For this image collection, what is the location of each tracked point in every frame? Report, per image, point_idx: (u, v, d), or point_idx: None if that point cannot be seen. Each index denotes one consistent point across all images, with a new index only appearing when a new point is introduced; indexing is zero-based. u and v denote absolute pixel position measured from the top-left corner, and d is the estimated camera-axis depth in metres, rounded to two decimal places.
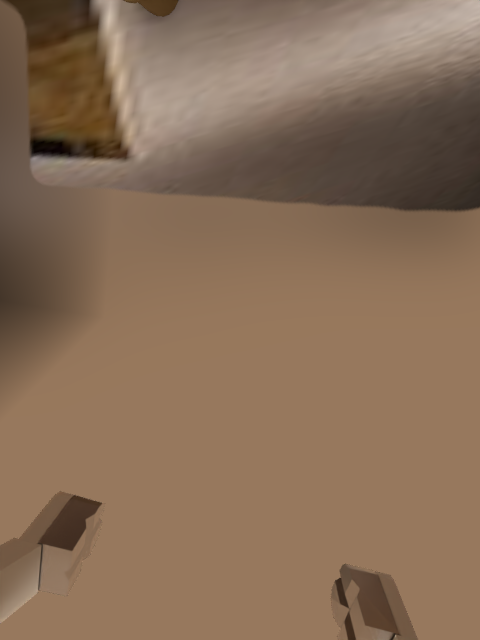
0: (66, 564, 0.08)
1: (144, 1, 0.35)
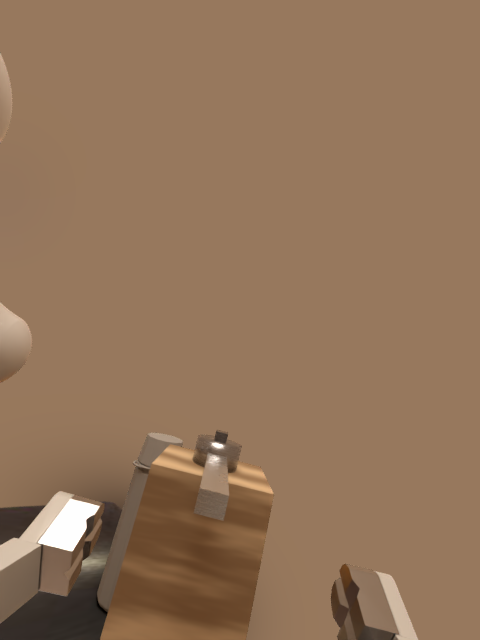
0: (66, 564, 0.08)
1: None
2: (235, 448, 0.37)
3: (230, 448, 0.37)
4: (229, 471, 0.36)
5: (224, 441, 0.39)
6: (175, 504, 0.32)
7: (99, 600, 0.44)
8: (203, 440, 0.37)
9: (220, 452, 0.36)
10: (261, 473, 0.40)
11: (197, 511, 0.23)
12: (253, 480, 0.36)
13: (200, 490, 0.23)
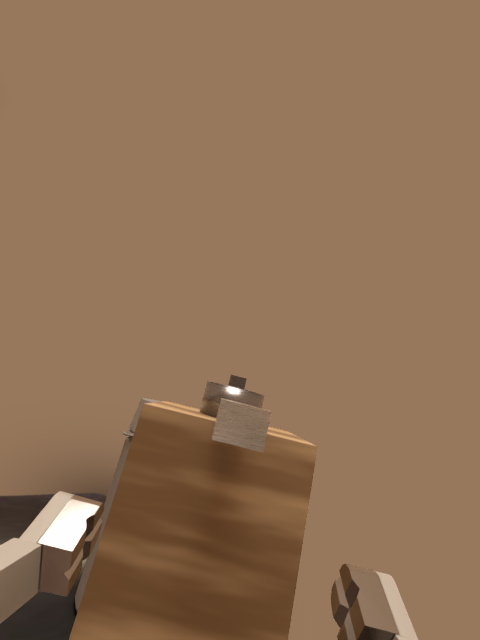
0: (67, 564, 0.08)
1: None
2: (257, 394, 0.28)
3: (251, 393, 0.27)
4: None
5: (241, 388, 0.29)
6: (177, 460, 0.22)
7: (77, 606, 0.34)
8: (214, 384, 0.28)
9: (238, 397, 0.27)
10: (289, 433, 0.31)
11: (218, 436, 0.13)
12: (283, 434, 0.26)
13: (222, 402, 0.14)
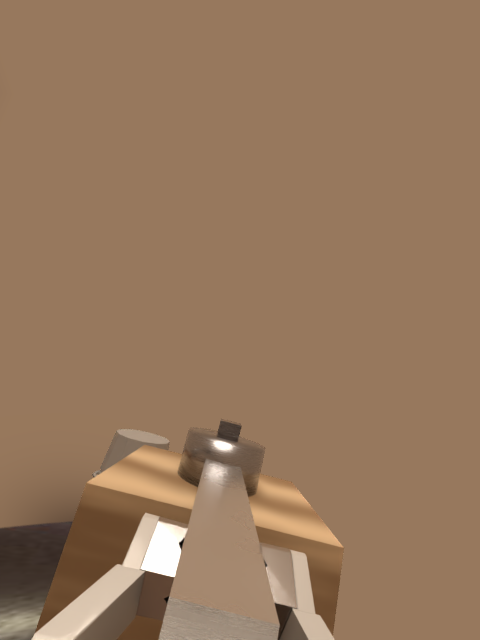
0: (167, 590, 0.08)
1: None
2: (255, 450, 0.20)
3: (247, 451, 0.20)
4: None
5: (235, 438, 0.22)
6: None
7: None
8: (197, 436, 0.20)
9: (228, 458, 0.19)
10: (298, 494, 0.23)
11: None
12: (291, 512, 0.19)
13: (171, 605, 0.06)
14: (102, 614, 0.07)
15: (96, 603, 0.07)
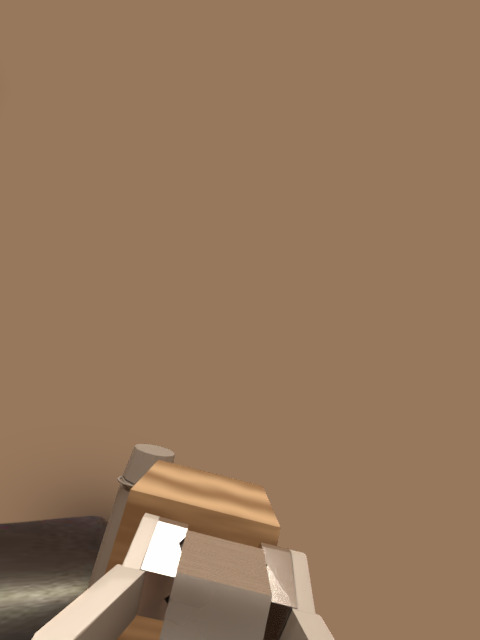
0: (168, 590, 0.08)
1: None
2: None
3: None
4: None
5: None
6: None
7: None
8: None
9: None
10: (264, 495, 0.34)
11: (188, 569, 0.07)
12: (255, 507, 0.30)
13: (189, 533, 0.09)
14: (102, 614, 0.07)
15: (96, 603, 0.07)
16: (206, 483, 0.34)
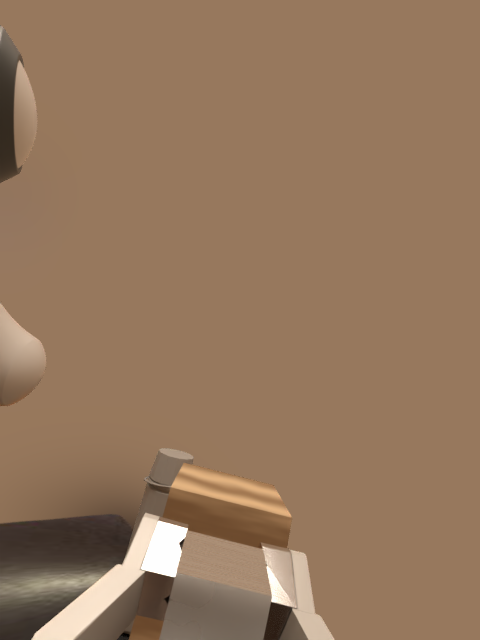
0: (168, 590, 0.08)
1: None
2: None
3: None
4: None
5: None
6: (194, 528, 0.32)
7: None
8: None
9: None
10: (275, 493, 0.40)
11: (188, 569, 0.07)
12: (269, 501, 0.36)
13: (189, 534, 0.09)
14: (102, 614, 0.07)
15: (96, 603, 0.07)
16: (227, 482, 0.40)
